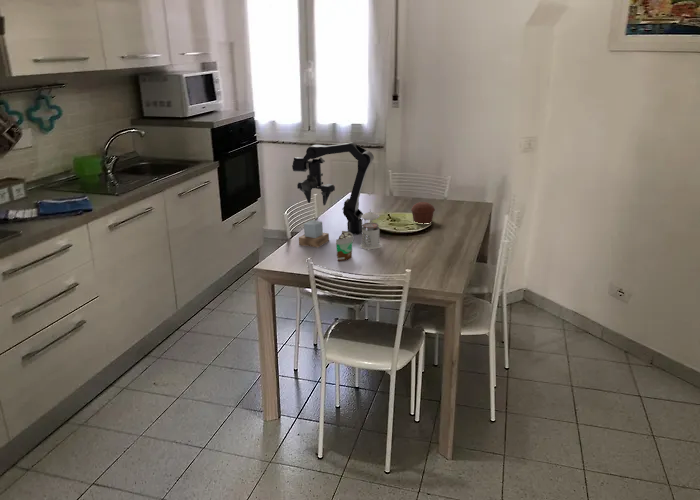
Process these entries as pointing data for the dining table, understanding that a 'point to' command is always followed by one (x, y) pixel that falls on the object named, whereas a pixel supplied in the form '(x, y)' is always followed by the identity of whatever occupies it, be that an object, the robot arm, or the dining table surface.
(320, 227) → the slate cube
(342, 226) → the dining table surface
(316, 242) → the walnut block
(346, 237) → the food container
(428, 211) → the muffin
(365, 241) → the french press
